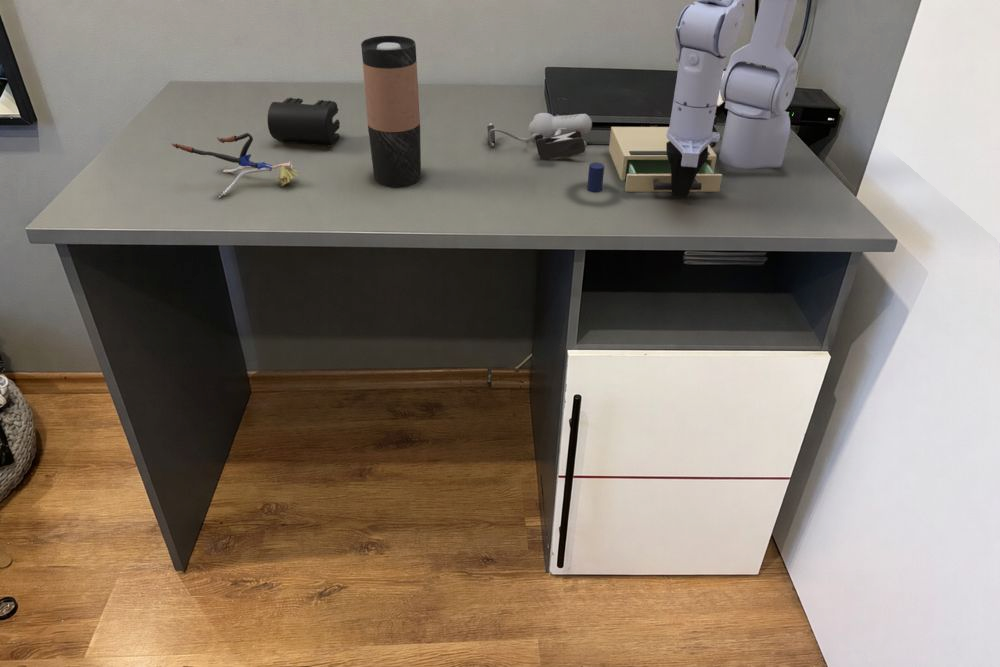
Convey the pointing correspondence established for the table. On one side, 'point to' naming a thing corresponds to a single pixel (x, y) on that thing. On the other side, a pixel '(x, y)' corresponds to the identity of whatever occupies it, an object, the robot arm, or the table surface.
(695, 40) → the robot arm
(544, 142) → the clip-on lamp
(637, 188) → the wooden drawer
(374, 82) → the travel mug
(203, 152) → the spliced wire bundle
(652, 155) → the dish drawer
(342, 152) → the table surface
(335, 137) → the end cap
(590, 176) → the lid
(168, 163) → the table surface
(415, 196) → the table surface
